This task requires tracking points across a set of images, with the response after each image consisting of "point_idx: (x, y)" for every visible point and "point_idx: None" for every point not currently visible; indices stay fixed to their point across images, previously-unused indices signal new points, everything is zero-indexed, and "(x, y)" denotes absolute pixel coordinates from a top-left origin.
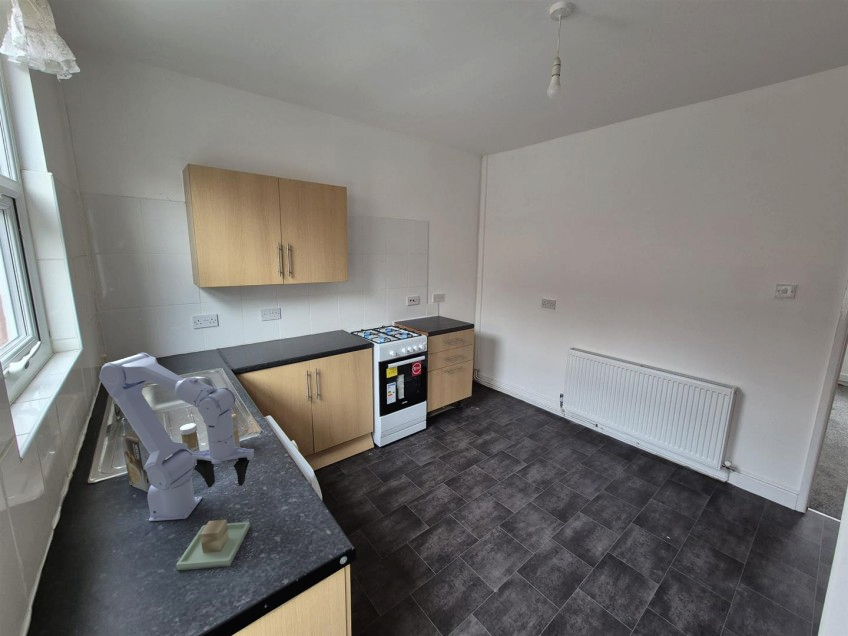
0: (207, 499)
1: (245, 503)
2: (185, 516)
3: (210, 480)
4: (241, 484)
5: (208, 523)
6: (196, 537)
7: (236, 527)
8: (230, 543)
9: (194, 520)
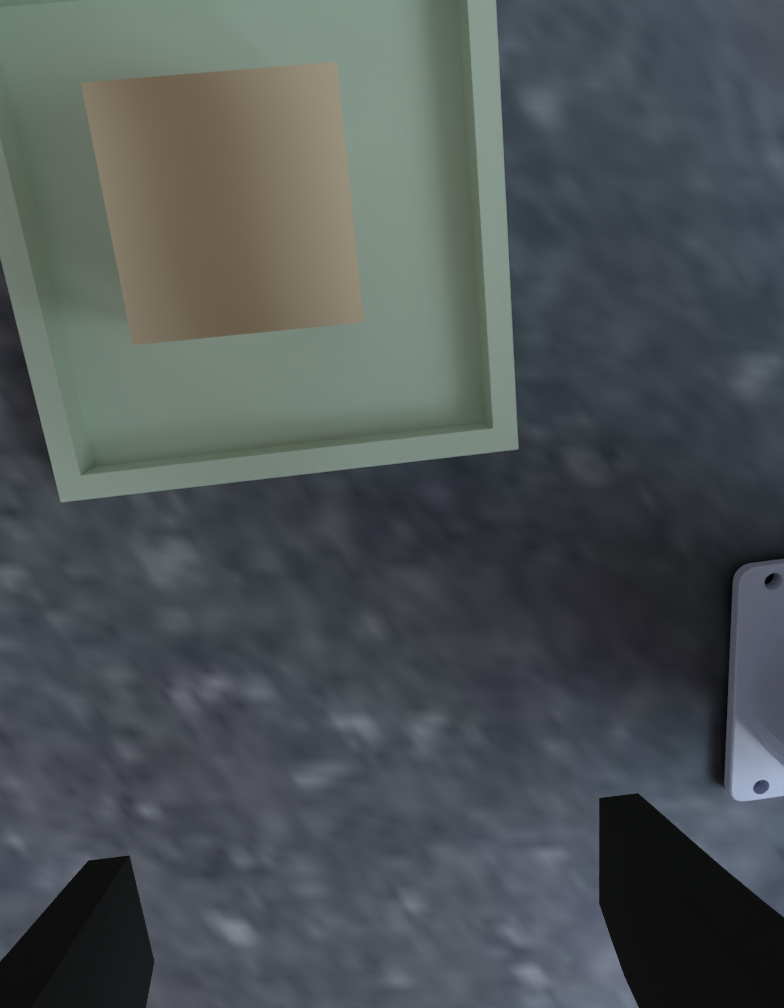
0: (671, 780)
1: (305, 755)
2: (754, 579)
3: (654, 915)
4: (71, 882)
5: (341, 271)
6: (490, 289)
7: (187, 457)
8: None
9: (653, 552)
